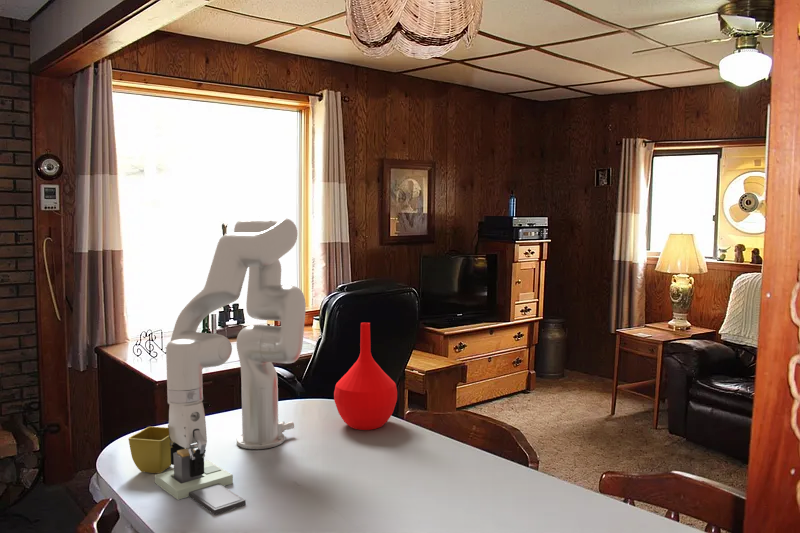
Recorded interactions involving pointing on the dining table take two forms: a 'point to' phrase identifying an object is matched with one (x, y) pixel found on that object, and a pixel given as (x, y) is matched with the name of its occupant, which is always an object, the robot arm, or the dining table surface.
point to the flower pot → (151, 449)
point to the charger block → (182, 466)
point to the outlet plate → (181, 490)
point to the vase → (365, 390)
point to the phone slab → (217, 498)
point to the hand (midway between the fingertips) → (187, 469)
